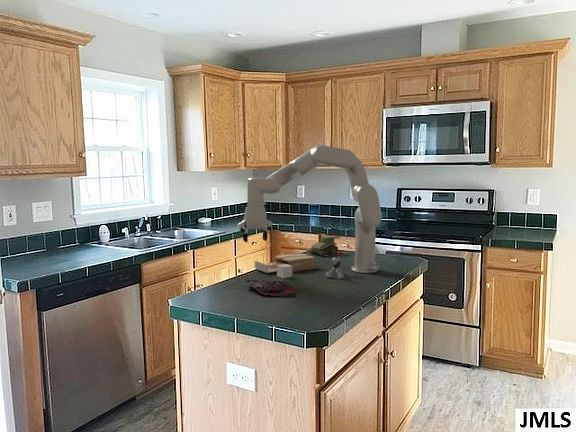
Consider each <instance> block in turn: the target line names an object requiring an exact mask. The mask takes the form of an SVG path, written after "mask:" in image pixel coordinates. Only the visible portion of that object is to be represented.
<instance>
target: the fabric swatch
mask: <svg viewBox="0 0 576 432" xmlns="http://www.w3.org/2000/svg"><path fill="white" fill-rule="evenodd" d="M245 283H247V284H248V285H249V286H251V287H252V288H253V289H255V290H256V291H257V293H259V294H263V295H267V296H268V295H269V296H273V297H285V298H296V295H297V294H296V293H297V290H296V289H294V287H293V286H292V285H291V284H290V283H289V282H287V281H279V280H278V281H276V280H274V281H265V280H256V279H246V280H245Z"/></svg>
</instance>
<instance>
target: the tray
mask: <svg viewBox="0 0 576 432" xmlns="http://www.w3.org/2000/svg"><path fill="white" fill-rule="evenodd" d="M279 263H281V262H279ZM282 264H284V263H282ZM254 268H255V270H259V271H261V272H264V273H267V274H269V273H274V272H277V268H276V269H271V268H268V265H267V263H264V262H261V261H258V260H255V261H254Z"/></svg>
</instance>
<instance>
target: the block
mask: <svg viewBox="0 0 576 432" xmlns="http://www.w3.org/2000/svg"><path fill="white" fill-rule="evenodd" d="M276 276H277V277H278V278H282V279H286V278H292V277H293V272H292V266H291V265H288V264H282V265H277V271H276Z"/></svg>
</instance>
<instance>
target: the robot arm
mask: <svg viewBox="0 0 576 432" xmlns="http://www.w3.org/2000/svg"><path fill="white" fill-rule="evenodd" d="M321 165H324V166H329V167H333V168H334V167H335V168H340V169H343V170H344V171H345V173H346V174H347V177H348V180H349V181H348V182H349V186H350V189H351V196H352V198H353V200H354V201H355V202H356V203H358V207H357V209H356V210H355V212H354V227H355V233H354V234H355V236H354V237H355V238H354V239H355V241H354V243H355V244H354V265H352V266H351V269H350V270H351V271H352V272H356V273H360V274H370V273H371V274H372V273H376V272H378V271H379V269H380V265H377V261H376V260H375V259H376V237H377V236H376V234H377V233H376V227H377V226H379V225H380V224H381V221H382V217H383V216H382V215H383V214H382V209H381V204H380V199H379V194H378V191H377V189H376V187H374V186H373V185H372V184H370V183H369V179H368V175H367V172H366V168H365V166H364V164H363V162H362V161H361V159H360V158H359V157H358V156H356V154H355V152H353V151H352V150H350V149H345V148H339V147H333V146H329V145H325V144H321V145H315V146H313V147H312V148H310V149H309V150H307V151H305V152H304V153H302V154H301V155H299V156H298V157H297V158H295V159H293V160H292V161H290V162H289V163H288V164H286V165H285V166H283V167H281V168H279V169H277V171H275V172H274V173H272V174H270V175H268V176H267V177H266V178H262V177H249V178H248V179H247V187H246V188H247V189H246V190H247V194H246V195H247V199H246V200H247V201H246V202H247V204H246V205H247V206H246V207H244V208H245V209H244V213H243V215H244V216H243V220H242V221H240V222H239V223H237V228H238V229H239V231H240V232H241V233H242V240H243V242H245V243H248V242H249V241H248V240H249V239H248V236H249V235H248V232H249V230H262V241H264V242H267V241H268V233H269V231H270V230H271V228H272V227H273V224H274V223H273V222H272V221H271V220H268V219H267V212H266V211H267V210H266V207H265V205H267V201H265V199H264V196H265V194H269V195H275V194H278V193H279V192H280V191H281V189H282V187H283V186H285V185H287V184H288V183H290V182H292V181H294V180H297V179H300V178H302V177H305V176H306V175H307V174H308V173H309V174H310V172H311V171H313V170H315V169H317V168H318V167H319V166H321Z"/></svg>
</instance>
